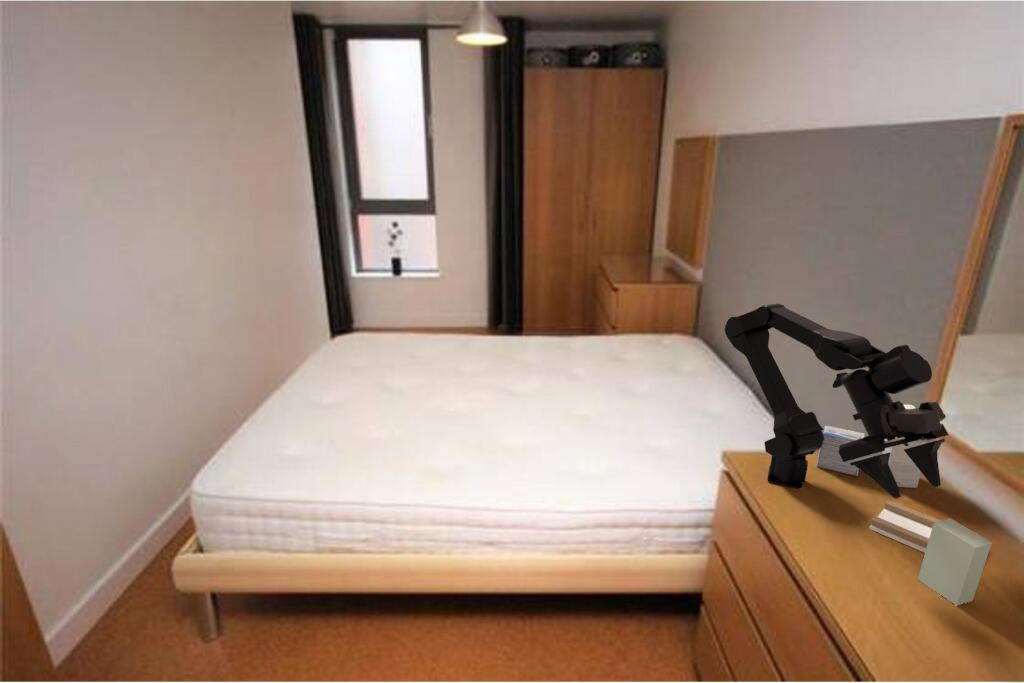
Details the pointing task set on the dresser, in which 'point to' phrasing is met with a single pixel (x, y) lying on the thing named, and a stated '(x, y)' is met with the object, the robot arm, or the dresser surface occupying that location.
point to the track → (904, 525)
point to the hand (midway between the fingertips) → (918, 491)
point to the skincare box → (903, 464)
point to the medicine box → (830, 448)
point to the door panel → (954, 561)
